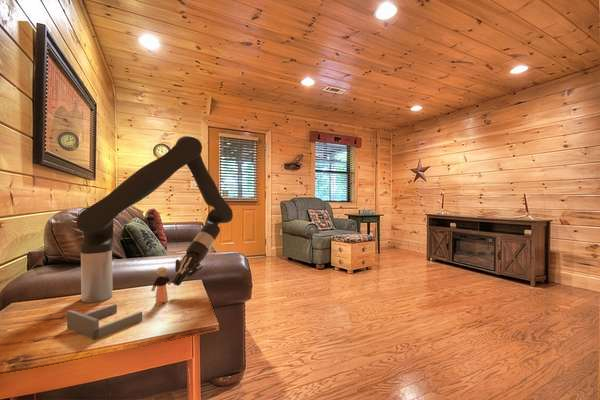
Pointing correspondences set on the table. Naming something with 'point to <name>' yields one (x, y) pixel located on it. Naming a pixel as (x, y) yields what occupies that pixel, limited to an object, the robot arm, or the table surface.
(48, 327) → the table surface
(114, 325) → the charcoal bay
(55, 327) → the table surface
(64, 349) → the table surface
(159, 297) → the grandmother figurine
